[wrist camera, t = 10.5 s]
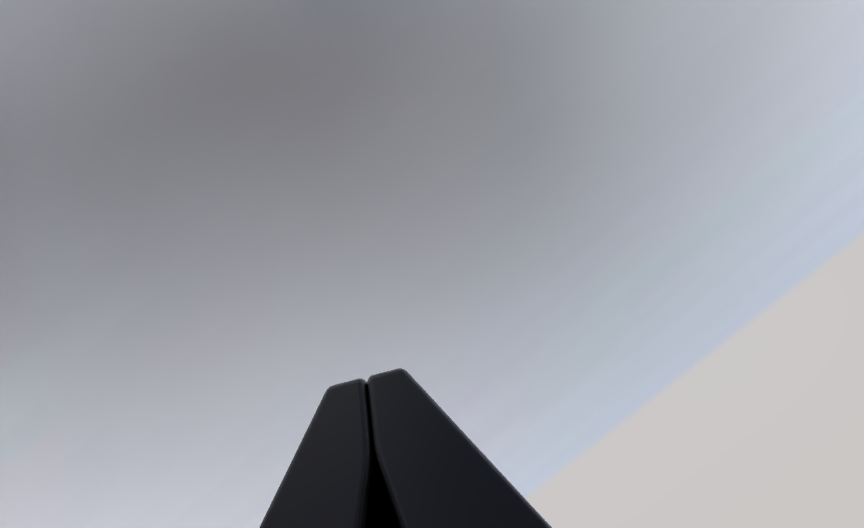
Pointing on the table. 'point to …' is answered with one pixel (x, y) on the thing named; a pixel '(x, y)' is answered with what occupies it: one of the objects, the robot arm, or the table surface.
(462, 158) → the table surface
